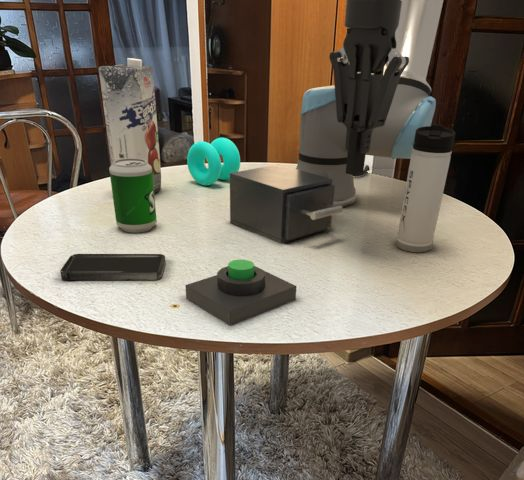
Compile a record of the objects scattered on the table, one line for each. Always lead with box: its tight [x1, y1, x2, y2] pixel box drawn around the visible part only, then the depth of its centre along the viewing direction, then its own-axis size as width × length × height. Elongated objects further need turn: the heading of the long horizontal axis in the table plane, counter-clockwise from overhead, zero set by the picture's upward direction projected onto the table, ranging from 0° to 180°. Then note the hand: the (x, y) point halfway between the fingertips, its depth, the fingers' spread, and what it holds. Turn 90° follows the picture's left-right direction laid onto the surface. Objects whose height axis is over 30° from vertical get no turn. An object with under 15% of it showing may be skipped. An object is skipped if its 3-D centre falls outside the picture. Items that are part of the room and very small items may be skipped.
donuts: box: [186, 137, 241, 186], centre depth 124 cm, size 10×10×10 cm
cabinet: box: [229, 164, 332, 244], centre depth 97 cm, size 15×13×10 cm
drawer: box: [283, 185, 344, 240], centre depth 95 cm, size 18×11×8 cm, turn 42°
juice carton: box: [98, 57, 162, 194], centre depth 109 cm, size 9×10×27 cm
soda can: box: [108, 158, 157, 233], centre depth 94 cm, size 8×8×12 cm
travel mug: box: [395, 123, 456, 253], centre depth 87 cm, size 6×7×20 cm
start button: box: [227, 258, 255, 280], centre depth 70 cm, size 4×4×2 cm
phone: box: [59, 253, 167, 281], centre depth 80 cm, size 8×1×15 cm
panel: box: [185, 265, 297, 326], centre depth 72 cm, size 12×10×4 cm
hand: (354, 172), depth 83 cm, fingers closed
